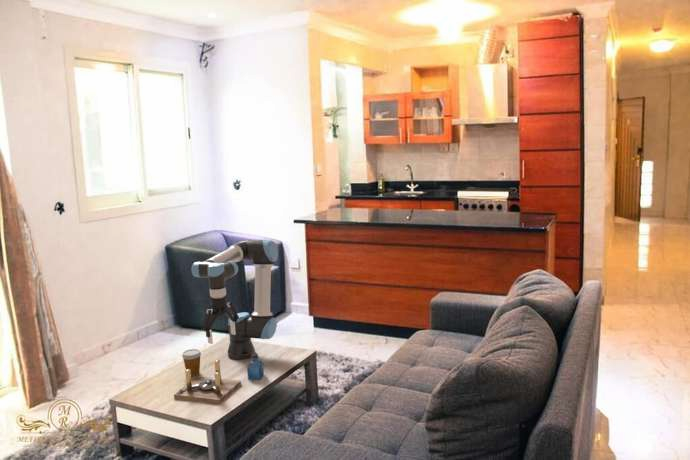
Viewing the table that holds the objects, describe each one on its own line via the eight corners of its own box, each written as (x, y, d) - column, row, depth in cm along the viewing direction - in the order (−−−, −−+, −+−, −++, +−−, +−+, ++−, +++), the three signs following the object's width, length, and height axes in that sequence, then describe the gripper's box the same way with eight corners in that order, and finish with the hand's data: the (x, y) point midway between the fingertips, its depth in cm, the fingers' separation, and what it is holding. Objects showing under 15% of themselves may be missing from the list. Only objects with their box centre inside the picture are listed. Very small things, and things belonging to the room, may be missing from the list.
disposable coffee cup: (202, 369, 302) (200, 347, 300) (202, 376, 293) (200, 354, 291) (184, 371, 300) (182, 350, 298) (183, 379, 291) (181, 356, 289)
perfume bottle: (259, 380, 286) (258, 357, 284) (248, 379, 288) (246, 357, 286) (264, 375, 292) (262, 352, 290) (252, 374, 294) (251, 352, 292)
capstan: (203, 376, 288) (202, 358, 286) (235, 379, 282) (234, 361, 281) (186, 390, 273) (184, 371, 271) (219, 393, 267) (217, 374, 266)
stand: (198, 379, 290) (197, 372, 289) (241, 384, 282) (240, 377, 282) (174, 398, 270) (173, 391, 269) (219, 404, 263) (218, 396, 262)
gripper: (234, 288, 282) (237, 329, 286) (191, 301, 264) (195, 345, 268) (243, 290, 278) (247, 332, 282) (200, 304, 259) (205, 348, 263)
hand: (222, 338), depth 275 cm, fingers open, 13 cm apart
